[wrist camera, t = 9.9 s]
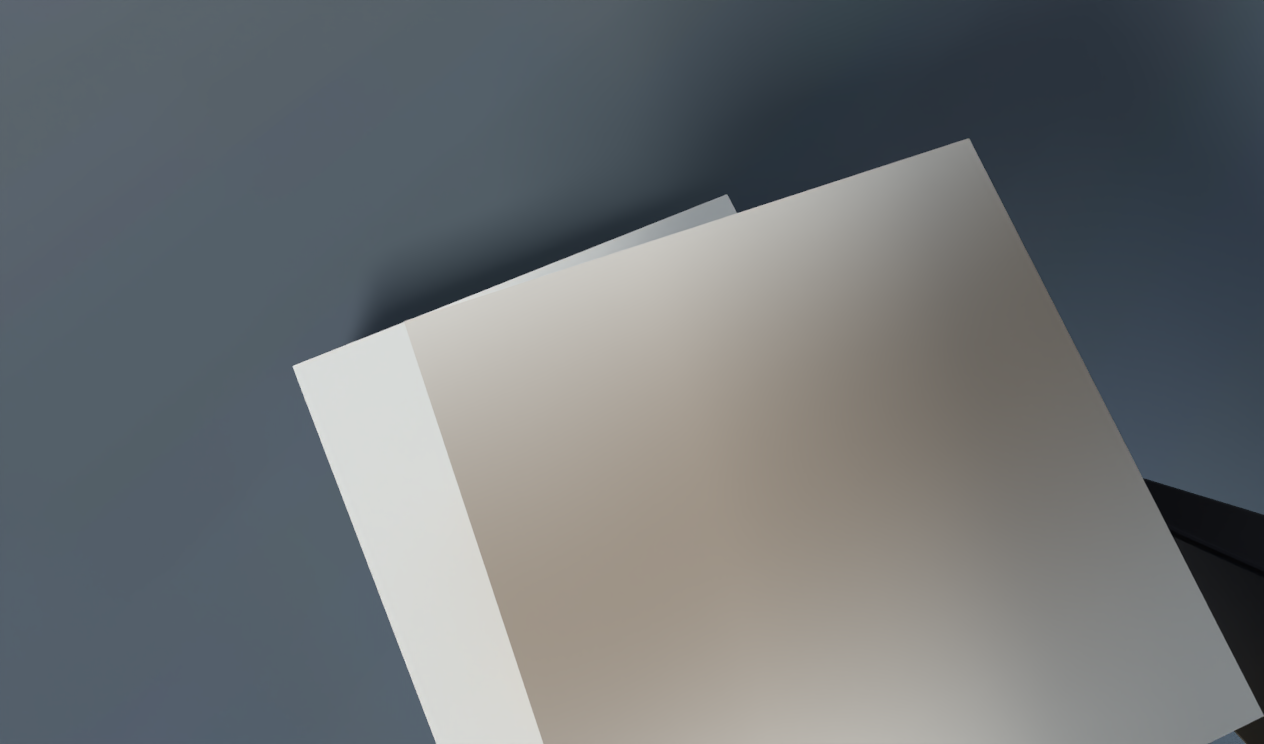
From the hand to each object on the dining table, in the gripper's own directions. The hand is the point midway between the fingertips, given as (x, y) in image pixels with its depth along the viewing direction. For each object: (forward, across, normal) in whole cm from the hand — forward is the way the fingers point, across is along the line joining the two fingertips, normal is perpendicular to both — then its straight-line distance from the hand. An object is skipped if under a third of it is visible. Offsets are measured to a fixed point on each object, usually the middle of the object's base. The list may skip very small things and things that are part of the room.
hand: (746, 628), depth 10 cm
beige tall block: (+6, 0, +5) cm, 8 cm away
